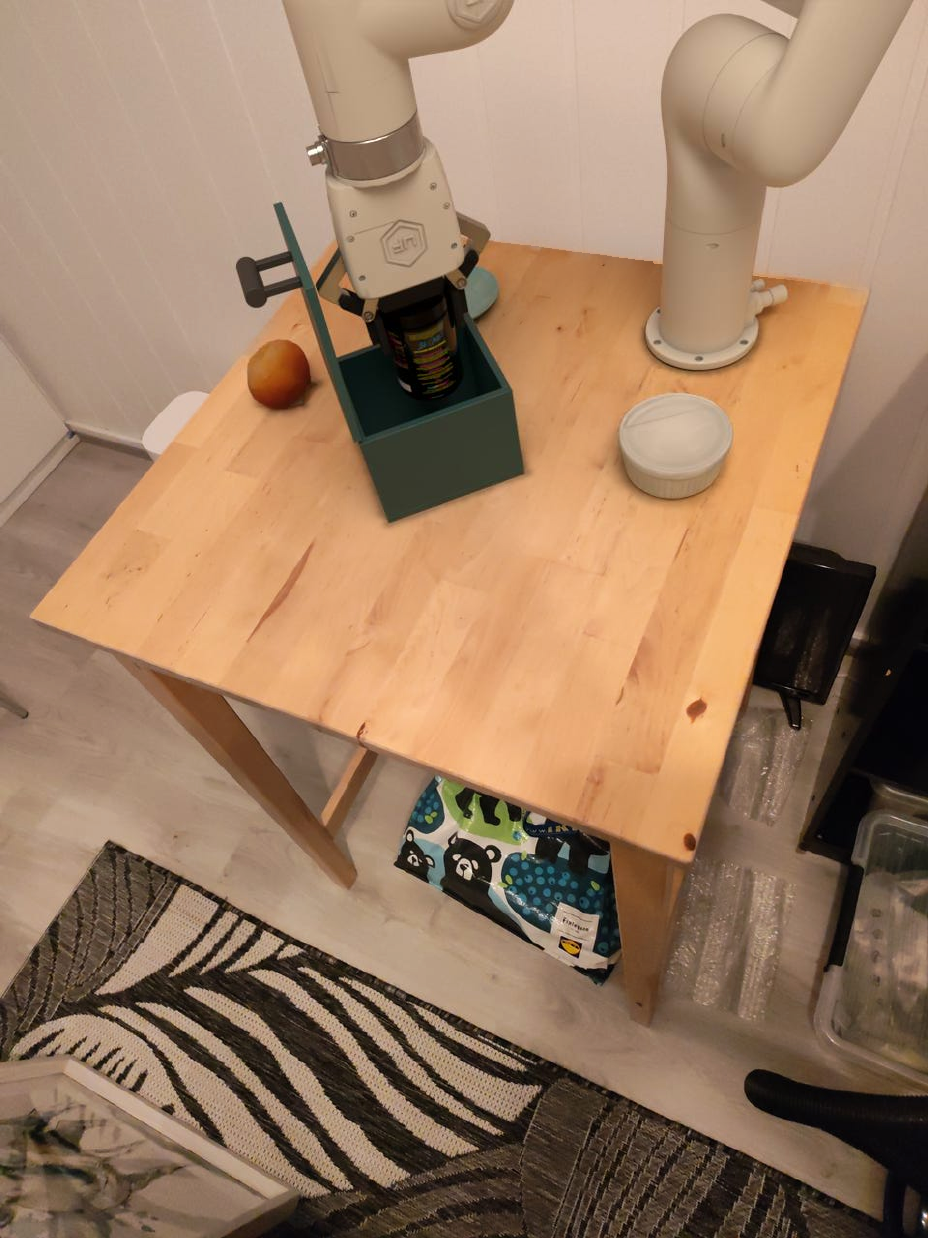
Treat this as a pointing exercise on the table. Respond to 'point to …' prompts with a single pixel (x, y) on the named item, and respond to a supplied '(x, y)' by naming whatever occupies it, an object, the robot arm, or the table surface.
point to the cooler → (433, 428)
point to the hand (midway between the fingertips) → (420, 331)
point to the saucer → (480, 291)
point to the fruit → (279, 374)
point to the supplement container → (423, 340)
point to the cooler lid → (259, 294)
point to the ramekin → (674, 444)
